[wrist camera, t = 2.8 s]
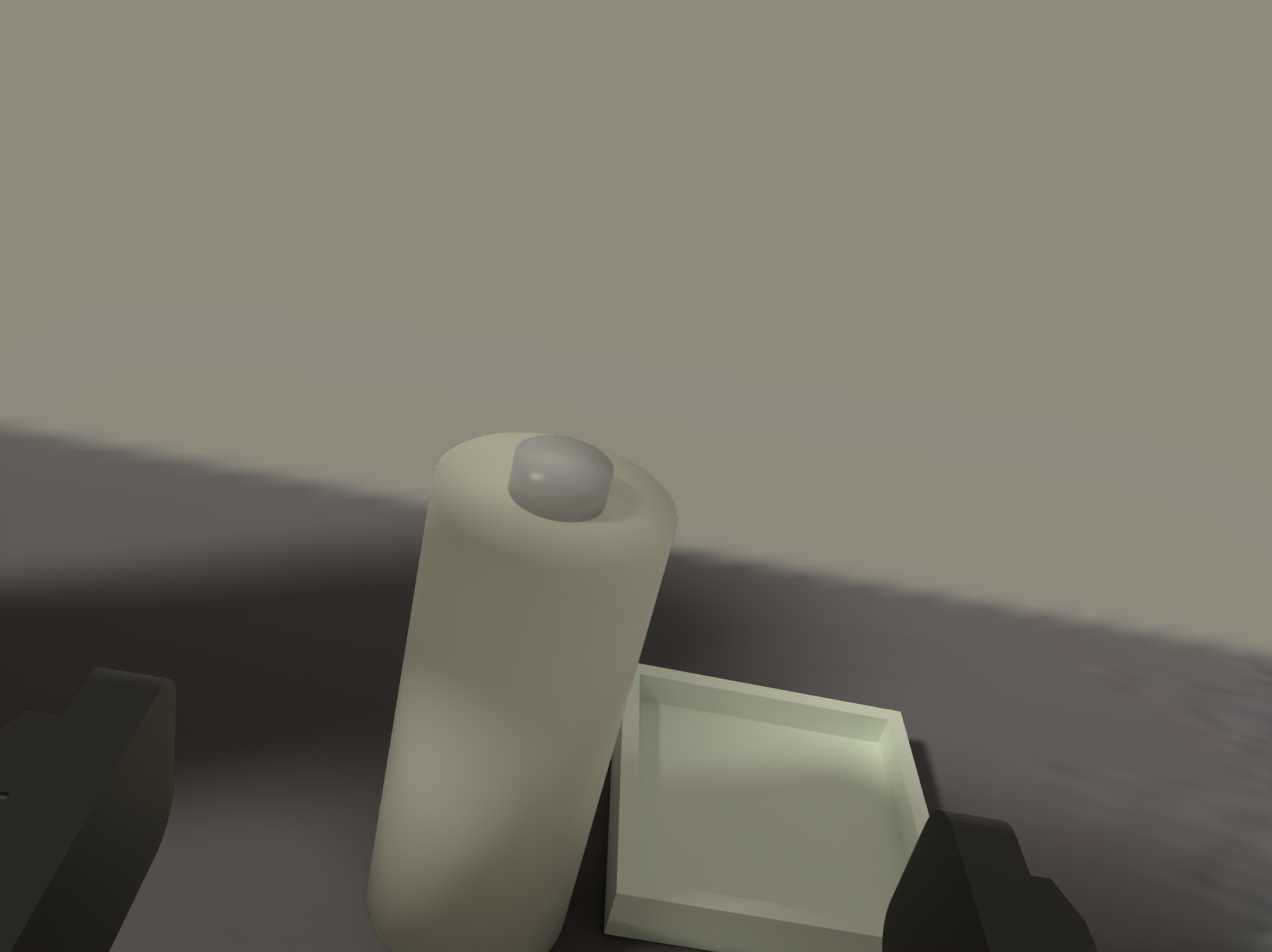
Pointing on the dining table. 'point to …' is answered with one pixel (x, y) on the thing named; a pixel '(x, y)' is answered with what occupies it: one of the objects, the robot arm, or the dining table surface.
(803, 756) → the tray
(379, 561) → the dining table surface
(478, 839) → the battery cell
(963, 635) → the dining table surface
